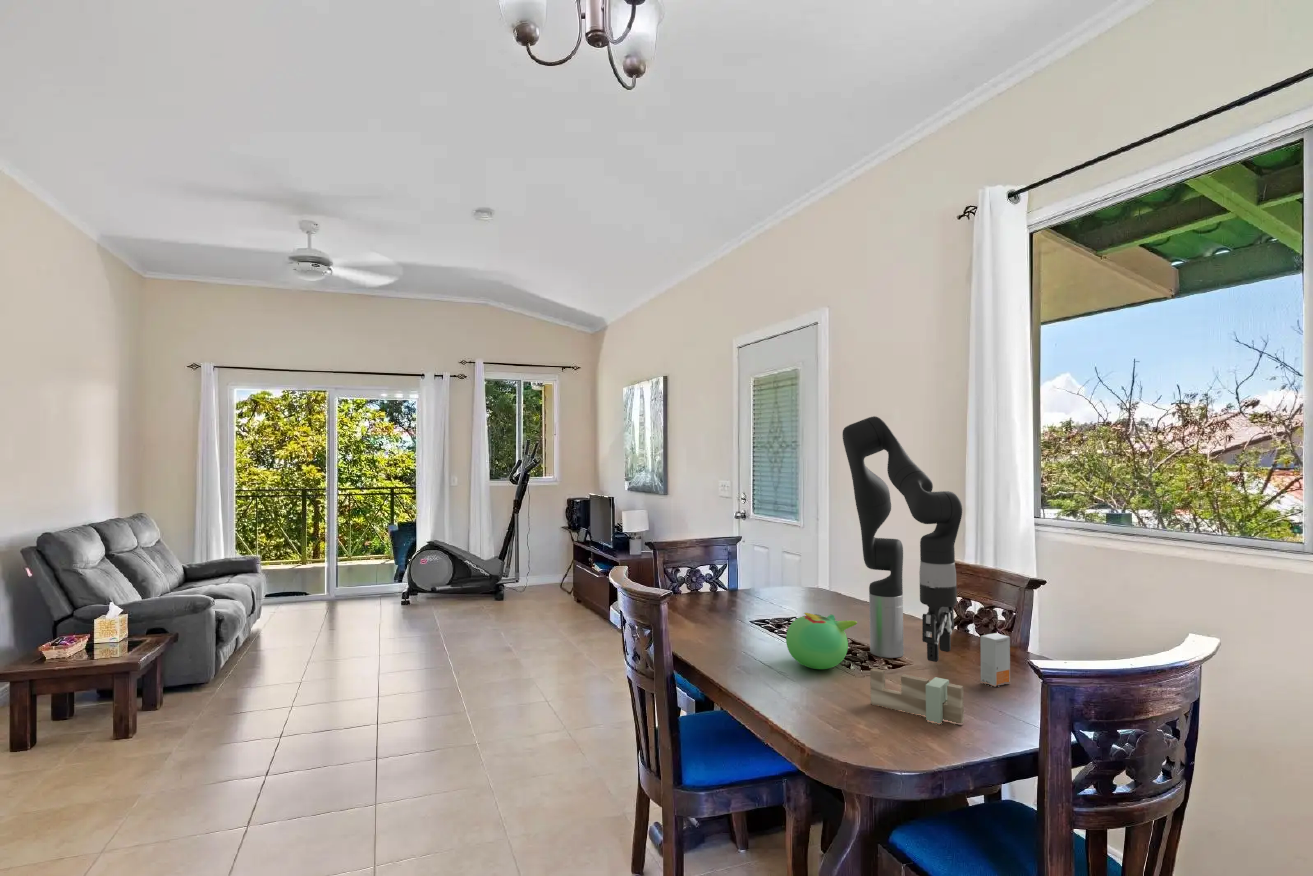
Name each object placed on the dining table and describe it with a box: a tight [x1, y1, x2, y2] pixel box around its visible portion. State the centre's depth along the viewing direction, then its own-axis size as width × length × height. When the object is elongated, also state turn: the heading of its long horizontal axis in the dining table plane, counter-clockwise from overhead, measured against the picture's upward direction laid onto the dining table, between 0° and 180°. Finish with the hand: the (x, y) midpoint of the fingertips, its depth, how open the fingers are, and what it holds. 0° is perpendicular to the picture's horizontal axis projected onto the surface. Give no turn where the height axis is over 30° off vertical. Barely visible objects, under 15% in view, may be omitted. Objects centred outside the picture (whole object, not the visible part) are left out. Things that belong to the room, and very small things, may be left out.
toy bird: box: [785, 612, 858, 670], centre depth 187 cm, size 18×17×15 cm
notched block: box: [925, 676, 950, 723], centre depth 151 cm, size 6×3×8 cm, turn 140°
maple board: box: [869, 667, 965, 723], centre depth 154 cm, size 2×20×8 cm, turn 50°
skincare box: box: [979, 632, 1011, 685], centre depth 173 cm, size 6×4×12 cm
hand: (939, 656), depth 151 cm, fingers open, 8 cm apart
